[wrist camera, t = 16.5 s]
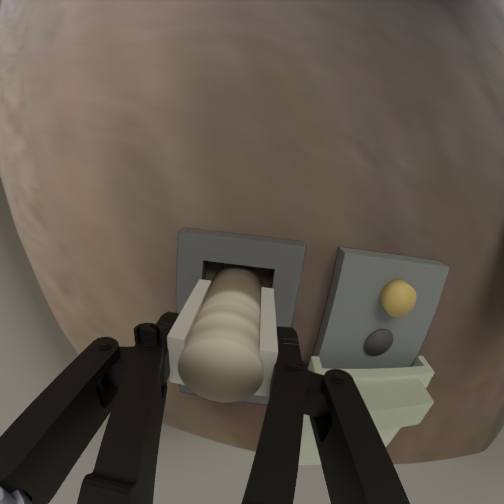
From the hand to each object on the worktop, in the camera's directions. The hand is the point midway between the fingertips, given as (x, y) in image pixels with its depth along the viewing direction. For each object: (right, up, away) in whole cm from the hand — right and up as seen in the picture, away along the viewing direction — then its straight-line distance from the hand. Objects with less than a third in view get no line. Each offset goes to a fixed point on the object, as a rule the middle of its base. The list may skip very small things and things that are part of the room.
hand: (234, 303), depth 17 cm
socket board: (0, -2, +3) cm, 4 cm away
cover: (+10, -11, +3) cm, 15 cm away
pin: (0, +1, +2) cm, 2 cm away
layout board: (+11, -3, +2) cm, 11 cm away
